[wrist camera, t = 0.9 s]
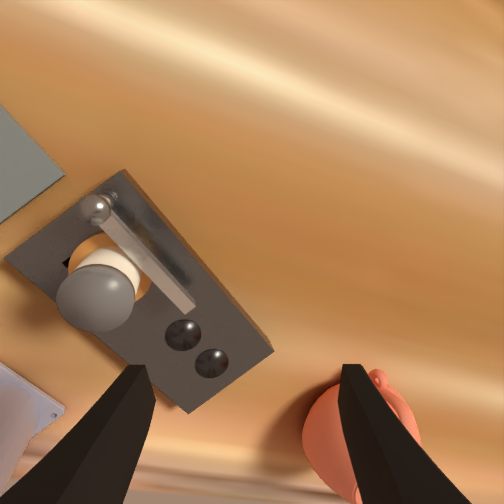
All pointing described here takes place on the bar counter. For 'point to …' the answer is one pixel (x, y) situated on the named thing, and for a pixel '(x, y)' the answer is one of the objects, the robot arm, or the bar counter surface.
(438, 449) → the bar counter surface
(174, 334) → the grey lever panel
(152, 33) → the bar counter surface
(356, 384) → the robot arm
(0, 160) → the mat
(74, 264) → the plug
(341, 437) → the sugar bowl
